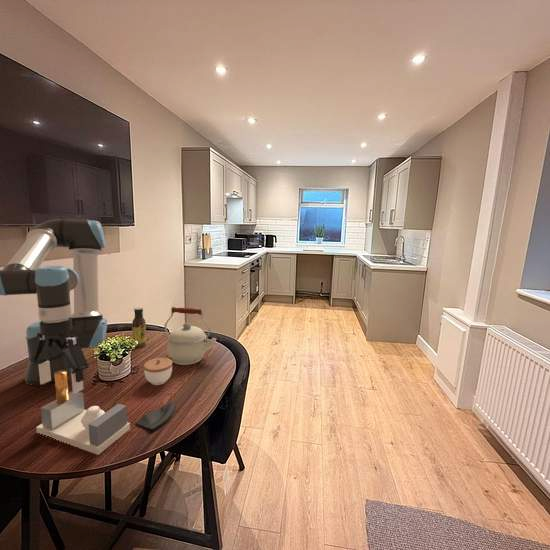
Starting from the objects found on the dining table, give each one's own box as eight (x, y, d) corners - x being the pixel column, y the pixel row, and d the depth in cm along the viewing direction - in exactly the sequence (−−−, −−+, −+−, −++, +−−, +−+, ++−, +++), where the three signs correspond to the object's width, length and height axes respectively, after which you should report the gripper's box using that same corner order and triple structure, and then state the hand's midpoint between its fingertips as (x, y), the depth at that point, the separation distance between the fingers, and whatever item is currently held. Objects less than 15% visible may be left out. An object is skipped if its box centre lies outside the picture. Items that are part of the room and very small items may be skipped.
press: (36, 433, 85) (34, 408, 84) (72, 411, 96) (71, 389, 94) (98, 455, 78) (96, 428, 77) (130, 429, 88) (129, 405, 87)
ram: (42, 426, 85) (37, 379, 82) (75, 407, 94) (71, 364, 92) (52, 429, 84) (47, 381, 81) (84, 409, 93) (81, 366, 91)
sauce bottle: (143, 348, 147) (142, 310, 144) (130, 348, 146) (129, 310, 143) (148, 343, 153) (146, 307, 150) (136, 343, 153) (134, 306, 149)
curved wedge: (185, 410, 99) (185, 405, 99) (153, 434, 87) (152, 429, 87) (167, 402, 103) (167, 398, 103) (134, 425, 91) (134, 420, 91)
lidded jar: (163, 390, 110) (162, 367, 109) (138, 386, 112) (137, 363, 111) (177, 376, 120) (177, 355, 119) (155, 373, 122) (154, 352, 121)
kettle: (155, 365, 129) (154, 311, 125) (174, 348, 147) (173, 301, 143) (209, 370, 127) (209, 315, 123) (221, 352, 145) (222, 304, 141)
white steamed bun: (88, 438, 81) (87, 416, 80) (77, 430, 84) (75, 408, 83) (110, 426, 86) (109, 405, 85) (99, 418, 90) (98, 398, 88)
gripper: (12, 317, 84) (19, 384, 87) (74, 328, 77) (80, 402, 80) (39, 311, 91) (45, 373, 94) (99, 320, 84) (103, 388, 87)
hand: (61, 386), depth 87 cm, fingers open, 13 cm apart
